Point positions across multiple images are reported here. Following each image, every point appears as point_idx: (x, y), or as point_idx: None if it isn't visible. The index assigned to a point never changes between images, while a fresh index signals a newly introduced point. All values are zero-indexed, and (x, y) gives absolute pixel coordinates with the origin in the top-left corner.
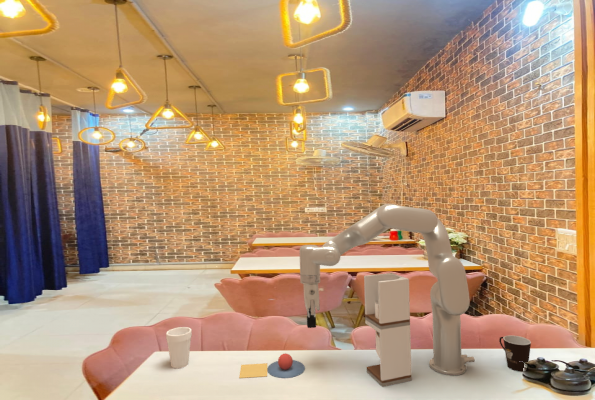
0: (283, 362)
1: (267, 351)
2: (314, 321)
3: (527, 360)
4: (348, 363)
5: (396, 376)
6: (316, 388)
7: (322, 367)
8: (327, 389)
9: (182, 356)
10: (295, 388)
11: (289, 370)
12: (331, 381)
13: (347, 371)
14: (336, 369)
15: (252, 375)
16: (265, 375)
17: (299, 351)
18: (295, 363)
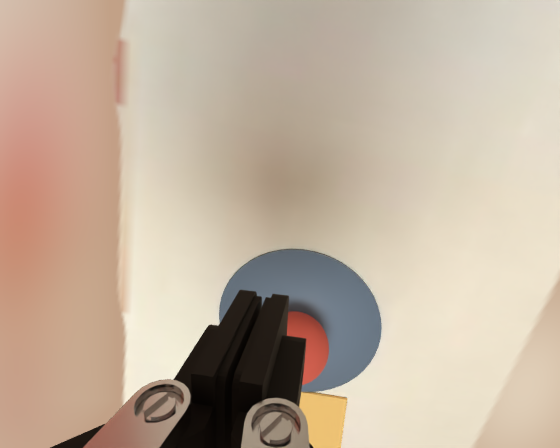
0: (323, 367)
1: (132, 362)
2: (277, 353)
3: None
4: (304, 7)
5: None
6: (517, 240)
7: (319, 167)
8: (548, 192)
9: None
10: (480, 322)
11: (321, 317)
12: (477, 155)
13: (397, 38)
14: (358, 98)
15: (330, 441)
16: (341, 404)
17: (139, 240)
18: (260, 282)
